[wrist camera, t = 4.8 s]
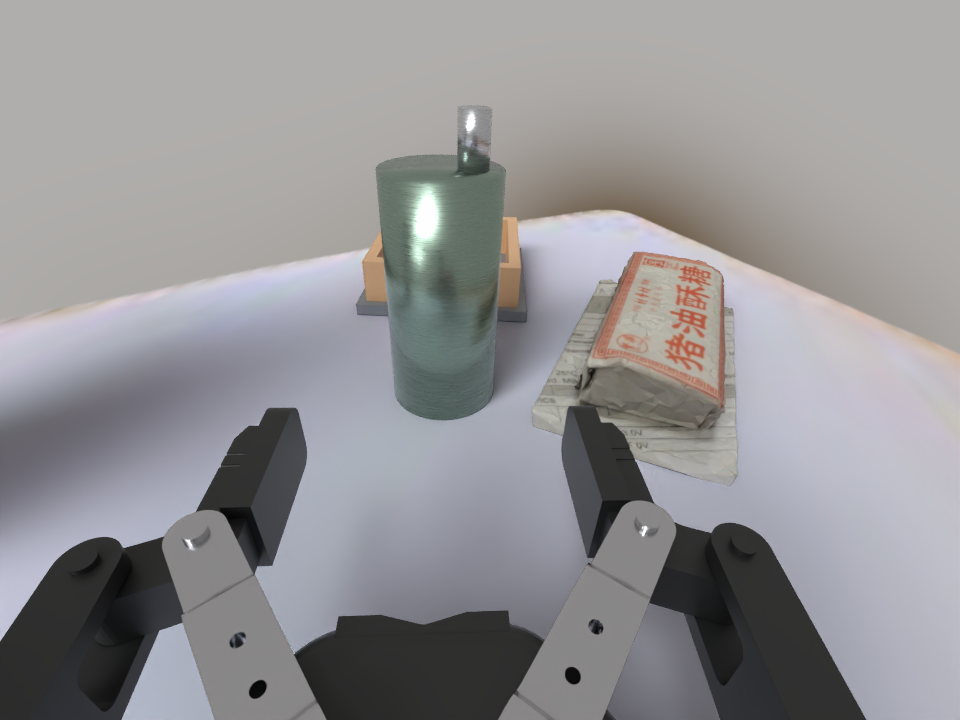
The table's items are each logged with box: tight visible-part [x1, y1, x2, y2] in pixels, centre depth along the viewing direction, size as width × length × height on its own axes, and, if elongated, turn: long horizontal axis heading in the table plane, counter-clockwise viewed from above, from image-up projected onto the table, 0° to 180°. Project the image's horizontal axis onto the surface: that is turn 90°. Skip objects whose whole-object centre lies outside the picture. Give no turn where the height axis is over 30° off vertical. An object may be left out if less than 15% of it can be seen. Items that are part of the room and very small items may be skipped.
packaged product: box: [532, 252, 738, 486], centre depth 29 cm, size 18×5×10 cm
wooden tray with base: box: [356, 217, 526, 322], centre depth 38 cm, size 12×12×4 cm
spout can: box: [376, 105, 506, 420], centre depth 24 cm, size 6×6×14 cm
